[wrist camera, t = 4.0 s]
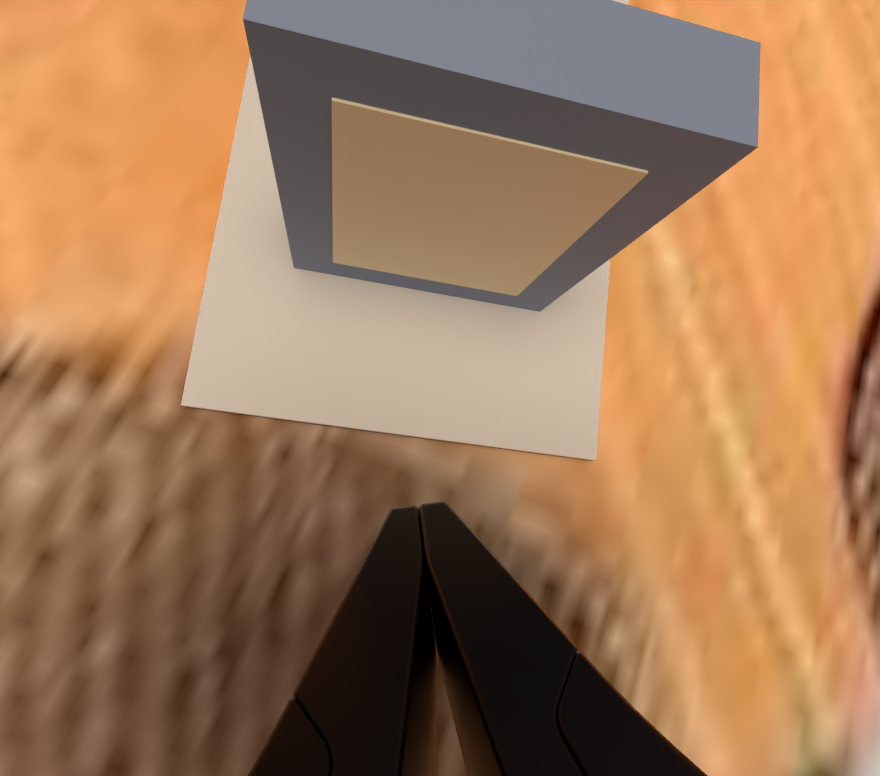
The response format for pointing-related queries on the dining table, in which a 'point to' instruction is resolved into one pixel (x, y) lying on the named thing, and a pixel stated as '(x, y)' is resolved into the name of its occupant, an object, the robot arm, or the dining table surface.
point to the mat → (382, 338)
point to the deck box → (490, 135)
